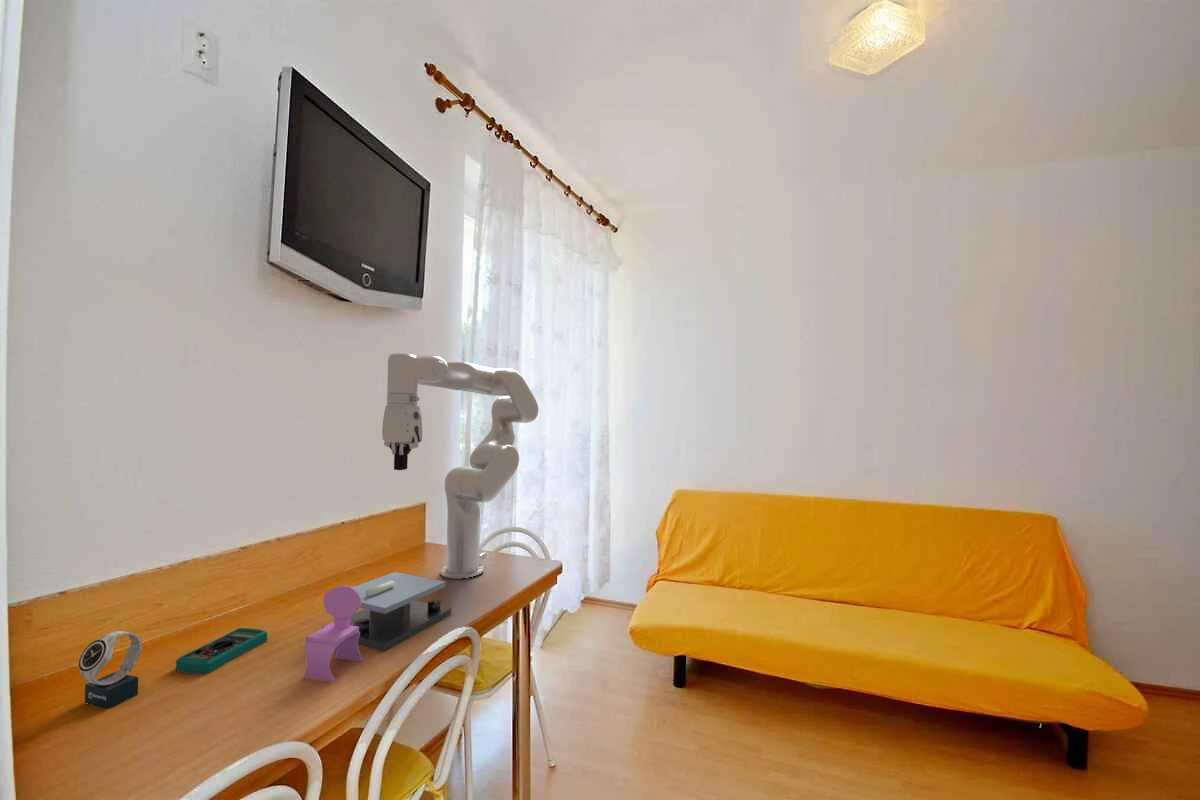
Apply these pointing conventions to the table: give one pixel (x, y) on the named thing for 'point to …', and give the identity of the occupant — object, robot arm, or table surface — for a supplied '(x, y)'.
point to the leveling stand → (397, 623)
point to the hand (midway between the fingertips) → (400, 469)
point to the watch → (115, 684)
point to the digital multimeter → (220, 651)
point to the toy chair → (334, 634)
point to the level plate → (395, 591)
